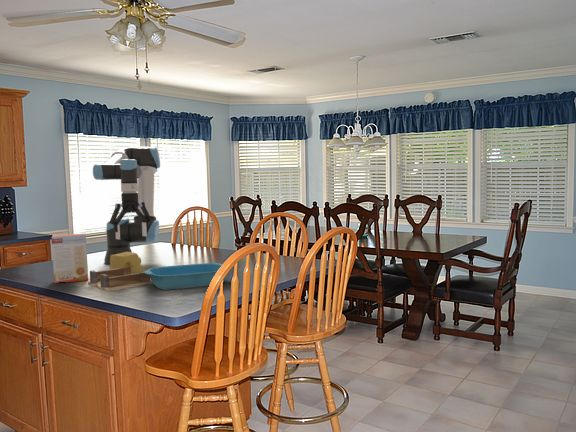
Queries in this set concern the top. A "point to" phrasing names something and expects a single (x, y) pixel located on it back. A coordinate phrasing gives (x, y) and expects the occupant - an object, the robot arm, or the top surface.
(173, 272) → the casserole dish
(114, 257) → the cheese
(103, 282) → the slot board
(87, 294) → the top surface
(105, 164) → the robot arm
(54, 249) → the cracker box
